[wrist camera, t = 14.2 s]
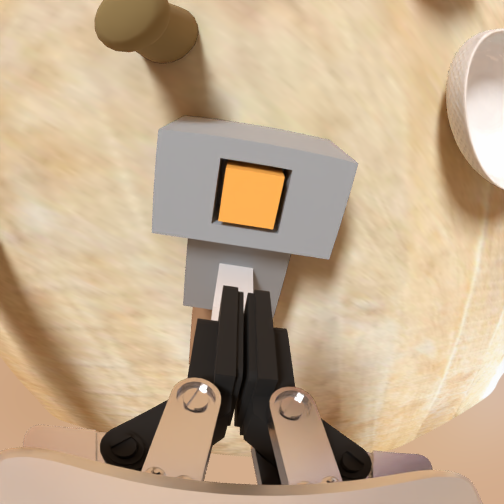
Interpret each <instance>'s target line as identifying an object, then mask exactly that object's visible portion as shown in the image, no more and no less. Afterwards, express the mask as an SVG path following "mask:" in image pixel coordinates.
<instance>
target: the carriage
mask: <svg viewBox="0 0 504 504" xmlns="http://www.w3.org/2000/svg"><path fill="white" fill-rule="evenodd" d="M290 256H291V254H290V253H283V252H276V251H270V250H263V249H257V248H250V247H243V246H237V245H230V244H224V243H217V242H210V241H204V240H197V239H190V238H188V244H187V256H186V270H185V284H184V301H183V305H184V306H191V307H197V308H204V309H210V310H212V317H211V320H214V321H218V317H219V310H220V303H221V297H222V290H223V285H225V286H233V287H238V291H240V292H244V309H245V304H246V299H247V294H248V293H253V292H254V290H255V289H256V290H263V291H269V292H270V298H271V308H272V318H273V317H274V314H275V310H276V306H277V303H278V299H279V296H280V292H281V289H282V285H283V282H284V278H285V274H286V271H287V267H288V263H289V260H290Z"/></svg>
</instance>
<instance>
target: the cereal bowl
mask: <svg viewBox="0 0 504 504" xmlns="http://www.w3.org/2000/svg"><path fill="white" fill-rule="evenodd" d="M446 104H447V106H446V108H447V113H448V119H449V123H450V127H451V130H452V133H453V136H454V139H455V141H456V143H457V146H458V147H459V149H460V151H461V153H462V154H463V156H464V158H465V159H466V160H467V162H468V163H469V164H470V165H471V166H472V168H473V169H474V170H475V171H476V172H477V173H478V174H480V175H481V176H482V177H483V178H485V179H486V180H487V181H489V182H490V183H491V184H493V185H495V186H496V187H498V188H501V189H503V190H504V29H493V30H488V31H484V32H481V33H478V34H476V35H474V36H472V37H471V38H469V39H468V40H467V41H466V42H464V43H463V45H462V46H461V47H460V48H459V49H458V51H457V52H456V54H455V57H454V58H453V61H452V63H451V65H450V69H449V71H448V78H447V84H446Z"/></svg>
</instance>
